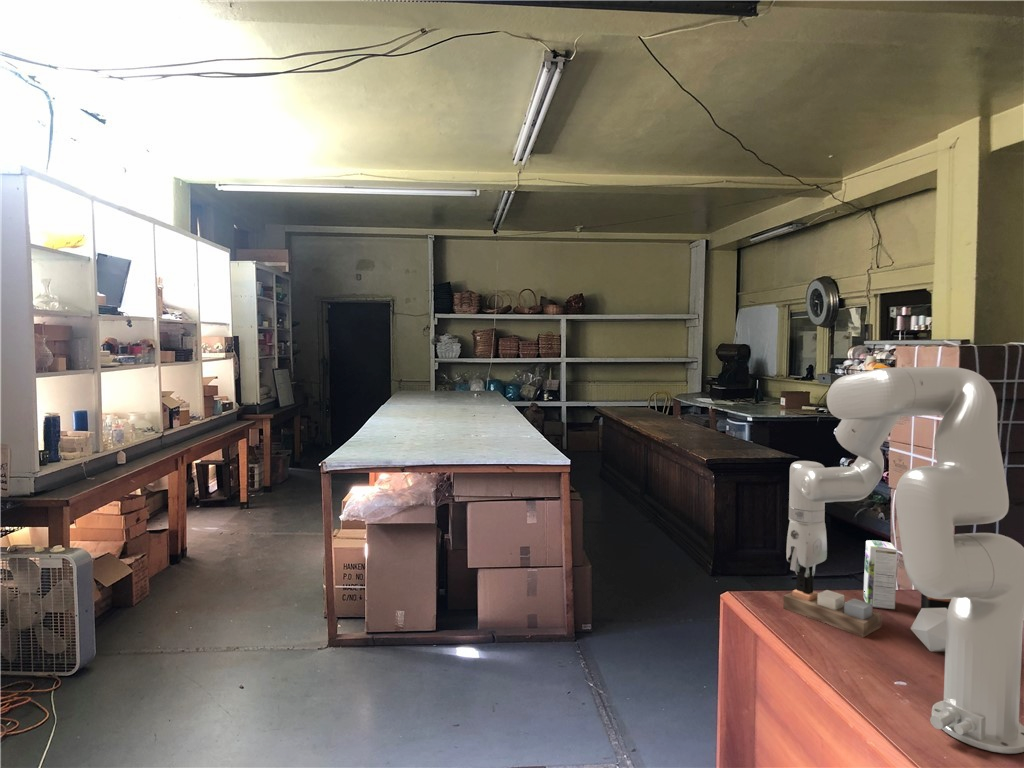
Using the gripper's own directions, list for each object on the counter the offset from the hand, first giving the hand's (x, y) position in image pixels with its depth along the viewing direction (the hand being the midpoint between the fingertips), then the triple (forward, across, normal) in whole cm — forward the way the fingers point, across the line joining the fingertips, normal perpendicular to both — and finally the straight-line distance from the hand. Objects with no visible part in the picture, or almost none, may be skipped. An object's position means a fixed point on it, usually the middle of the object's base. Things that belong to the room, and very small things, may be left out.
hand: (804, 591), depth 143 cm
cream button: (+2, 0, -6) cm, 6 cm away
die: (+4, +4, -26) cm, 27 cm away
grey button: (+2, 0, -12) cm, 12 cm away
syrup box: (+4, +17, -9) cm, 19 cm away
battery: (+4, +18, -20) cm, 27 cm away
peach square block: (+3, 0, 0) cm, 3 cm away
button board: (+4, 0, -6) cm, 7 cm away
